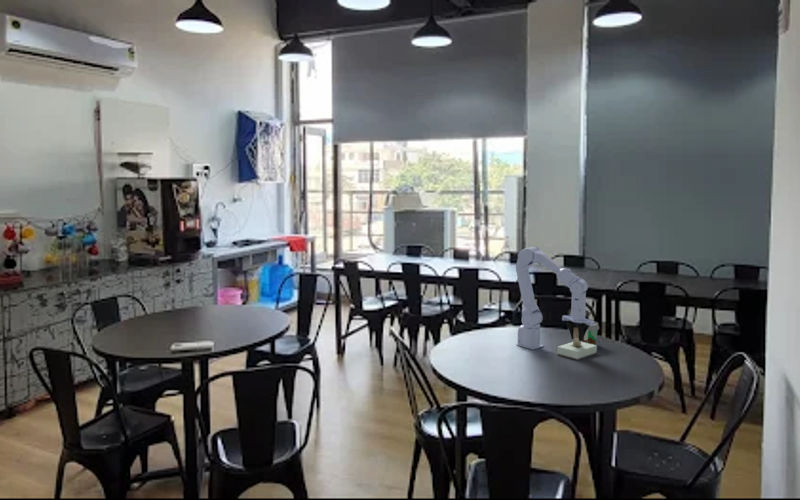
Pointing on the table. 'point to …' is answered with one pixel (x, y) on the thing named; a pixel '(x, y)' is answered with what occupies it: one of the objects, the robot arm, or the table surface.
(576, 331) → the peg
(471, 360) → the table surface
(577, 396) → the table surface
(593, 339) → the food container
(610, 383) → the table surface
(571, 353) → the socket block
